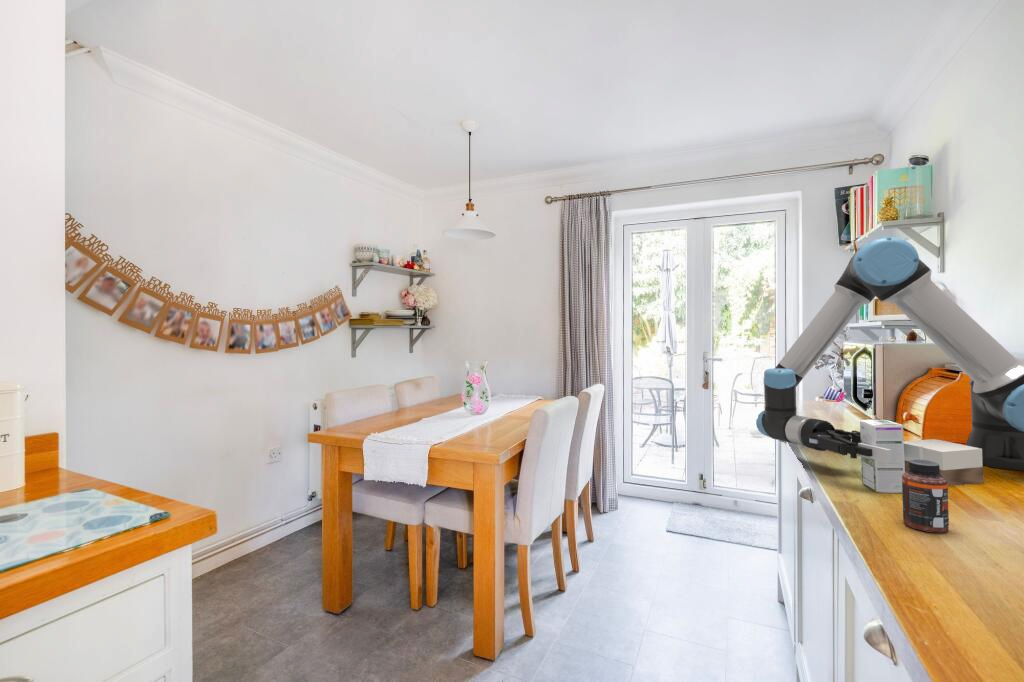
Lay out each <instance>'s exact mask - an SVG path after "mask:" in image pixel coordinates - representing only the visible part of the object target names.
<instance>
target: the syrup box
mask: <svg viewBox="0 0 1024 682" xmlns="http://www.w3.org/2000/svg"><path fill="white" fill-rule="evenodd" d="M859 430H860V431H859V432H860V437H861V443H863V444H868V445H872V446H877V447H881V448H886V449H890V450H891V458H892V463H885V462H881V461H877V460H873V459H870V458H866V457H862V456H860V457H861V458H860V459H861V480H862V485H864V486H866V487H867V488H869V489H871V490H873V491H874V492H876V493H883V494H884V493H885V494H887V493H888V494H902V475H903V473H905V461H904V441H905V440H904V425H903V424H900V423H898V422H894V421H891V420H888V419H860V420H859Z"/></svg>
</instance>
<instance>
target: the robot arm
mask: <svg viewBox="0 0 1024 682" xmlns="http://www.w3.org/2000/svg"><path fill="white" fill-rule="evenodd" d="M932 272H933V271H932V269H931V268H930V267H929V266H928V265H927V264H925V262H923V260H921V259H920V257H919V253H918V251H917V249H916V248H915V246H914V245H913V244H912V243H910V242H909V241H907V240H905V239H902V238H900V237H899V238H898V237H893V236H891V237H889V236H888V237H880V238H876V239H873V240H871V241H869V242H867V243H865V244H864V245H862V247H860V248H858V250H857V251H856V252H855V253H854V254H853V256H852V257H851V258H850V260H849V262H848V263H847V266H846V267H845V269H844V271H843V273H842V274H841V276H840V277H839V279H838V280H837V281H836V282H835V284H834V291H833V293H832V294H831V296H830V297H829V298H828V299H827V301H826V302H825V303H824V304H823V306H822V307H821V308H820V310H819V311H818V312H817V313H816V314H815V316H814V317H813V318H812V320H811V321H810V322H809V323H808V325H807V326H806V328H805V329H804V330H803V331H802V332H801V334H800V335H799V336H798V337H797V339H796V340H795V341H794V343H793V344H792V345H791V347H790V348H789V350H787V352H786V353H785V354H784V356H783V357H782V358H781V359H780V361H779V362H778V363H777V365H776V366H775V367H774V368H767V369H765V370H764V372H763V390H764V391H763V393H764V410H762V411H761V412H760V413H759V414H758V415H757V416H758V417H757V418H756V421H755V422H756V423H755V424H756V428H757V430H758V432H760V434H762V435H763V436H765V437H768V438H771V439H773V440H778V441H782V442H786V443H790V444H794V445H797V446H799V447H800V448H802V449H803V448H805V447H806V448H809V449H812V450H816V451H820V452H825V451H829V452H832V453H836V454H839V455H842V456H848V455H849V458H850V459H857V458H858V457H861V456H862V457H866V458H870V459H873V460H877V461H881V462H885V463H892V458H891V450H890V449H886V448H881V447H877V446H872V445H868V444H863V443H861V437H860V431H857V430H851V431H848V430H847V431H846V430H844V429H838V428H837V429H836V428H835V427H834V426H833V424H832V423H831V422H830V421H827V420H824V419H818V418H814V417H813V418H812V417H809V416H803V415H797V414H798V413H797V412H798V411H797V387H798V386H799V385H800V383H801V382H802V381H803V379H804V378H805V376H806V375H807V374H808V373H809V372H810V370H811V369H812V368H813V367H814V365H815V364H817V362H818V361H819V359H821V357H822V356H823V354H824V353H825V352H826V351H827V349H828V348H829V347H830V346H831V344H833V342H834V341H835V339H836V338H837V337H838V336H839V335H840V333H841V332H842V331H843V330H844V329H845V328H846V326H848V324H849V323H850V322H851V320H852V319H853V318H854V317H855V315H856V314H857V313H858V312H859V311H860V309H861V308H862V307H863V306H864V305H869V304H871V302H872V301H873V300H874V299H875V297H876V298H877V299H878V300H879V301H880V302H881V303H888V304H889V303H890V304H893V305H894V306H896V308H897V309H898V310H899V311H901V312H902V313H903V314H904V315H905V316H906V318H908V319H909V320H910V321H911V322H912V323H913V324H914V325H915V326H916V327H917V328H918V329H920V331H921V332H923V334H925V336H927V338H928V339H929V340H931V341H932V343H934V344H935V346H937V348H939V349H940V350H941V351H942V352H943V353H944V354H945V355H946V356H947V357H948V358H949V359H950V360H952V362H953V363H955V365H957V366H958V367H959V369H961V371H963V372H964V373H965V374H966V375H967V376H968V377H969V378H970V381H969V386H970V405H971V409H970V411H971V430H970V433H969V435H968V437H967V439H966V440H967V441H966V443H965V445H966V446H971V447H976V448H981V449H982V464H983V466H986V467H991V468H996V469H1005V470H1012V471H1013V470H1014V471H1024V360H1021V359H1017V358H1016V357H1014V356H1013V355H1012V354H1011V352H1009V351H1008V350H1007V349H1006V348H1005V347H1004V346H1003V345H1002V344H1001V343H999V341H997V340H996V338H994V337H993V336H992V335H991V334H990V333H989V332H988V331H986V329H984V328H983V326H981V325H980V324H979V323H978V322H977V321H976V320H975V319H974V318H972V316H970V315H969V313H967V312H966V311H965V310H964V309H963V308H962V307H960V306H959V304H957V303H956V302H955V301H954V300H953V299H952V298H950V296H949V295H948V294H947V293H945V292H944V290H942V289H941V288H940V287H939V285H936V283H935V282H933V281H932V279H931V276H932ZM904 456H906V457H911V458H915V459H919V460H921V459H923V447H922V446H919V445H914V444H909V443H904Z"/></svg>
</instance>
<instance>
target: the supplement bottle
mask: <svg viewBox="0 0 1024 682" xmlns="http://www.w3.org/2000/svg"><path fill="white" fill-rule="evenodd" d="M908 467H909V468H910V470H909V471H907V472H905V473H903V475H902V493H901V494H902V495H901V496H902V497H901V498H902V518H903V522H904V524H905V525H906V526H908V527H910V528H912V529H914V530H918V531H921V532H927V533H933V534H941V533H946V532H947V531H949V529H950V528H949V527H950V521H949V520H950V518H949V517H950V516H949V486H948V483H947V480H946V479H945V478H944V477H943V476H942V475H941V474H940V473H939V471H940V468H939V464H938V463H936V462H932V461H927V460H909V466H908Z"/></svg>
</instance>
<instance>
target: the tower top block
mask: <svg viewBox="0 0 1024 682" xmlns="http://www.w3.org/2000/svg"><path fill="white" fill-rule="evenodd" d="M904 443H909V444H914V445H919V446H922V447H923V459H921V460H927V461H932V462H936V463H938V464H939V468H940V470H954V469H965V468H977V467H983V466H984V465H983V464H982V449H981V448H976V447H971V446H966V444H961V443H955V442H951V441H946V440H941V439H935V438H932V439H919V440H918V439H915V440H904ZM904 460H906V461H909V460H919V459H915V458H911V457H906V456H904ZM983 468H984V467H983Z"/></svg>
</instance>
